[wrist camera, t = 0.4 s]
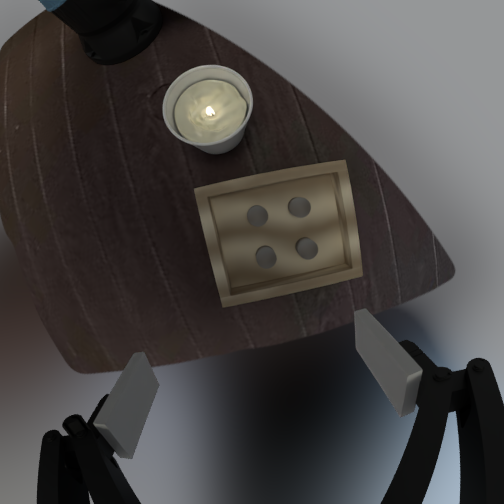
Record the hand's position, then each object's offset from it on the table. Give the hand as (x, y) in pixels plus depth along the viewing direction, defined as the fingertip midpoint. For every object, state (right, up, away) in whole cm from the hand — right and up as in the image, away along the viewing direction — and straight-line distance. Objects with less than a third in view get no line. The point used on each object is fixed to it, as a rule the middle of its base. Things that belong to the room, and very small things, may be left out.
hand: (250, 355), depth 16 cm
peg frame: (+4, +9, +25) cm, 27 cm away
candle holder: (-5, +24, +22) cm, 33 cm away
